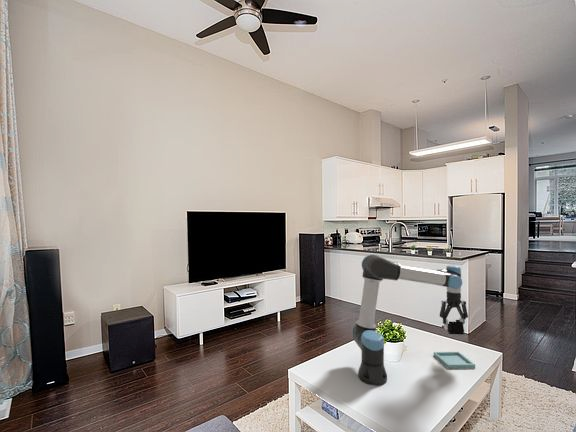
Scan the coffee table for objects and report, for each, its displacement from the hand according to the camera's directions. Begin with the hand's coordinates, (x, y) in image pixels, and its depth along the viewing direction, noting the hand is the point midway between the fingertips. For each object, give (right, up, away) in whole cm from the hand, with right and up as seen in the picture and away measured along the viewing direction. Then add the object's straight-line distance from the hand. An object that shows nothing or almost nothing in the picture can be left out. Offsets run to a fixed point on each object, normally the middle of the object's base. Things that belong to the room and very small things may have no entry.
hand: (453, 329), depth 180 cm
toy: (0, -3, +1) cm, 3 cm away
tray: (0, -19, 0) cm, 19 cm away
